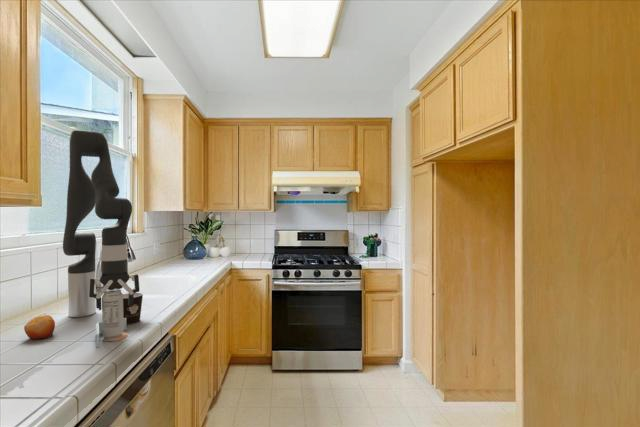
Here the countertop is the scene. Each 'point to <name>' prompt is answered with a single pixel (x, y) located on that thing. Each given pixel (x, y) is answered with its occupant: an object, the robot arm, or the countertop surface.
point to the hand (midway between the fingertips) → (115, 307)
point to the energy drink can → (112, 314)
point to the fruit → (40, 327)
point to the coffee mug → (132, 308)
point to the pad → (117, 338)
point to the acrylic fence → (99, 330)
